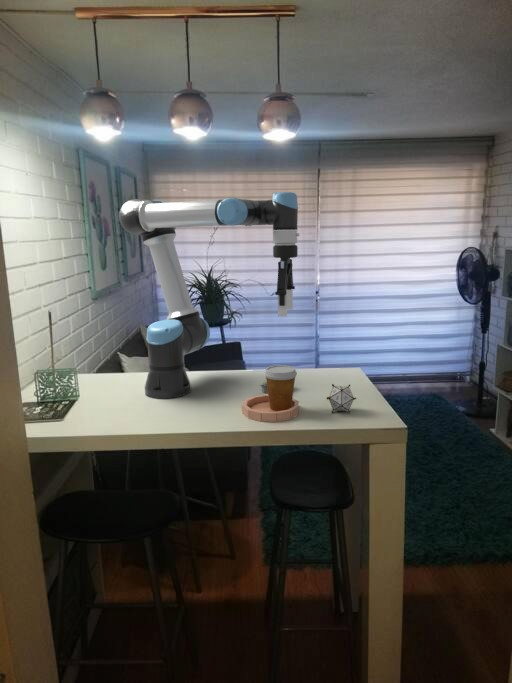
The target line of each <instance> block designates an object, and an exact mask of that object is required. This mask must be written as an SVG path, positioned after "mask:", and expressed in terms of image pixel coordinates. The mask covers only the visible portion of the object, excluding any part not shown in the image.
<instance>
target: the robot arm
mask: <svg viewBox="0 0 512 683" xmlns="http://www.w3.org/2000/svg"><path fill="white" fill-rule="evenodd" d="M298 204H299V203H298V196H297V193H295V192H293V191H281V192H274V193H273V194H272V199H268V200H261V199H259V200H253V199H242V198H237V197H228V198H224V199H204V200H190V201H189V200H187V201H175V202H174V201H173V202H166V201H162V200H159V199H153V200H152V199H141V198H134V199H129V200H127V201H126V202H124V203H123V204H122V205H121V207H120V210H119V214H118V215H119V216H118V217H119V218H118V219H119V223H120V225H121V227H122V228H123V229H124V230H125V231H126V232H127V233H129V234H131V235H133V236H141V239H142V243H143V245H145V246H146V247H148V248H149V251H150V256H151V258H152V262H153V265H154V268H155V271H156V274H157V278H158V281H159V284H160V287H161V291H162V295H163V298H164V302H165V304H166V309H167V312H168V315H167V316H166V319H163V320H159V321H155V322H153V323H151V324H149V325H148V326H147V329H146V343H147V345H146V346H147V356H148V357H147V358H148V359H147V360H148V372H147V377H146V381H145V384H144V393H145V395H146V396H147V397H150V398H156V399H172V398H177V397H178V398H179V397H182V396H185V395H187V394H189V393H190V392H191V388H192V387H191V381H190V379H189V376H188V374H187V371H186V369H185V356H186V355H189V354H191V353H193V352H197V351H199V350H201V349H202V348H204V347H205V346H206V345H207V343H208V342H209V339H210V336H211V329H210V326H209V323H208V322H207V320H205V319H204V318H203V317H201V316H200V313H199V312H200V311H199V310H198V309H196V308H194V306H193V304H192V301H191V297H190V294H189V290H188V286H187V284H186V280H185V276H184V273H183V270H182V266H181V262H180V259H179V256H178V253H177V252H178V251H177V249H176V246H175V241H174V240H175V239H176V237H177V234H176V229H177V228H193V227H195V228H197V227H219V226H222V227H225V226H232V227H234V226H246V227H251V226H272V243H273V244H274V245H273V247H272V255H273V258H274V259H275V258H277V259H278V258H279V259H280V260H279V261H277V266H278V267H277V281H276V282H277V283H276V291H275V293H274V295H276V296H277V317H288V311H289V310H290V311H291V310H293V309H294V308H293V304H294V302H293V300H294V299H293V297H294V296H293V295H294V294H293V291H294V290H295V289H296V286H295V285H294V276H293V259H294V258H297V257H298V256H299V255H298V252H299V251H298V249H299V248H298V247H299V246H298V237H300V233H299V232H298V221H299V220H298V218H299V217H298V216H299V214H298V212H299V210H298V209H299V207H298ZM292 258H293V259H292Z"/></svg>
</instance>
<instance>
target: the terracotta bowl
mask: <svg viewBox="0 0 512 683" xmlns="http://www.w3.org/2000/svg"><path fill="white" fill-rule="evenodd" d="M299 403H300V402H299V401H298V400H297V399H295V398H292V406H291V408H290V409H288V410H283V411H274V410H272V409H270V403H269V396H268V394H259V395H256V396H255V395H254V396H250V397H249V398H246V399H244V400H243V402H242V404H241V408H242V409H241V411H242V414H243V416H245V417H246V418H247V419H249V420H254V421H258V422H265V423H267V422H272V423H273V422H275V423H277V422H283V421H288V420H292V419H294V418H295V417H297V416H299V409H300V404H299Z"/></svg>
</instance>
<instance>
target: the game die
mask: <svg viewBox="0 0 512 683" xmlns="http://www.w3.org/2000/svg"><path fill="white" fill-rule="evenodd" d="M331 386H332V389H331V391H330V393H329V396H326V398H325V399H326V400H328V402H329V403H330V405H331V409H332V411H331V413H334V412H335V411H343V412H348V413H349V414H351V410H350V409H351V407H352V404H353V402H354V401H355V400H357V398H356V397H354V395H353V393H352V391H351V384H348V385H346V386H344V385H343V386H341V385H339V386H338V385H334V383H331Z"/></svg>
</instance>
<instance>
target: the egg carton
mask: <svg viewBox="0 0 512 683" xmlns="http://www.w3.org/2000/svg"><path fill="white" fill-rule="evenodd" d="M259 387H260V388H261V390H260V391H261V393H262V394H268V388H267V381H266V382H262V383H261V384H259Z"/></svg>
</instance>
